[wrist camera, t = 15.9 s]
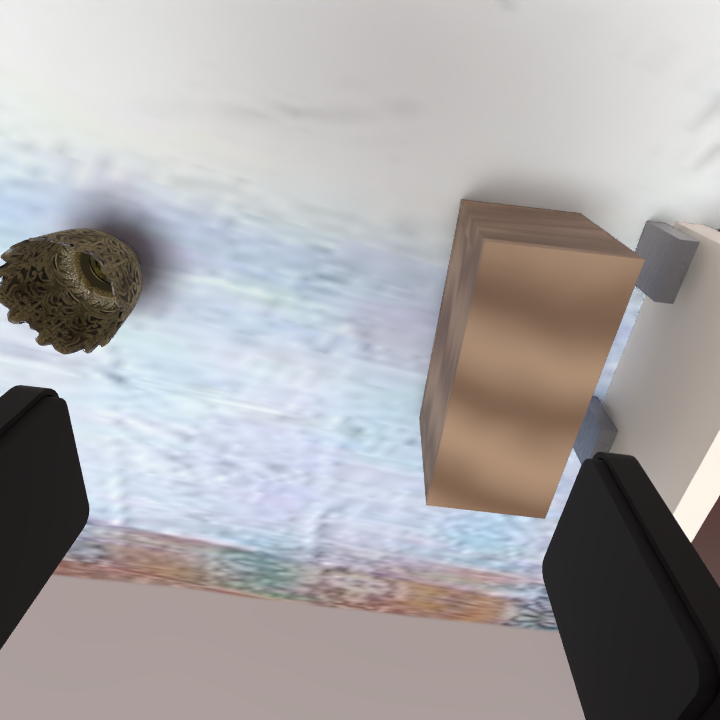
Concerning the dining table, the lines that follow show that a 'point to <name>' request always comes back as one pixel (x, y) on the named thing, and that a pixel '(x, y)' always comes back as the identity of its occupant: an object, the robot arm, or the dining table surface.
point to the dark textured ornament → (71, 287)
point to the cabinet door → (675, 389)
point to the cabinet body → (518, 353)
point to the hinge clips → (661, 284)
